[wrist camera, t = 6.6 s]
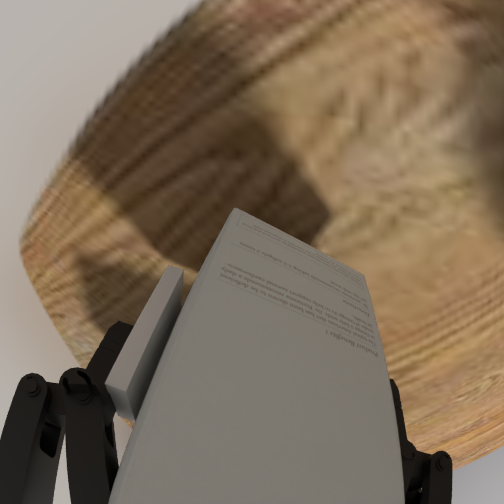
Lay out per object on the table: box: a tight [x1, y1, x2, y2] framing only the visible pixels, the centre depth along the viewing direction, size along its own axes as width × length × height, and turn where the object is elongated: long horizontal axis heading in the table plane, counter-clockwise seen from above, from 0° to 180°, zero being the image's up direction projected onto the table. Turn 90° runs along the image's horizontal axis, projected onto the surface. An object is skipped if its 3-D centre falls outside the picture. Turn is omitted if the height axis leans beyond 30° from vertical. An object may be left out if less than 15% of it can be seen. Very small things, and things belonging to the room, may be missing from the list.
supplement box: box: [108, 208, 405, 504], centre depth 10 cm, size 7×7×13 cm
